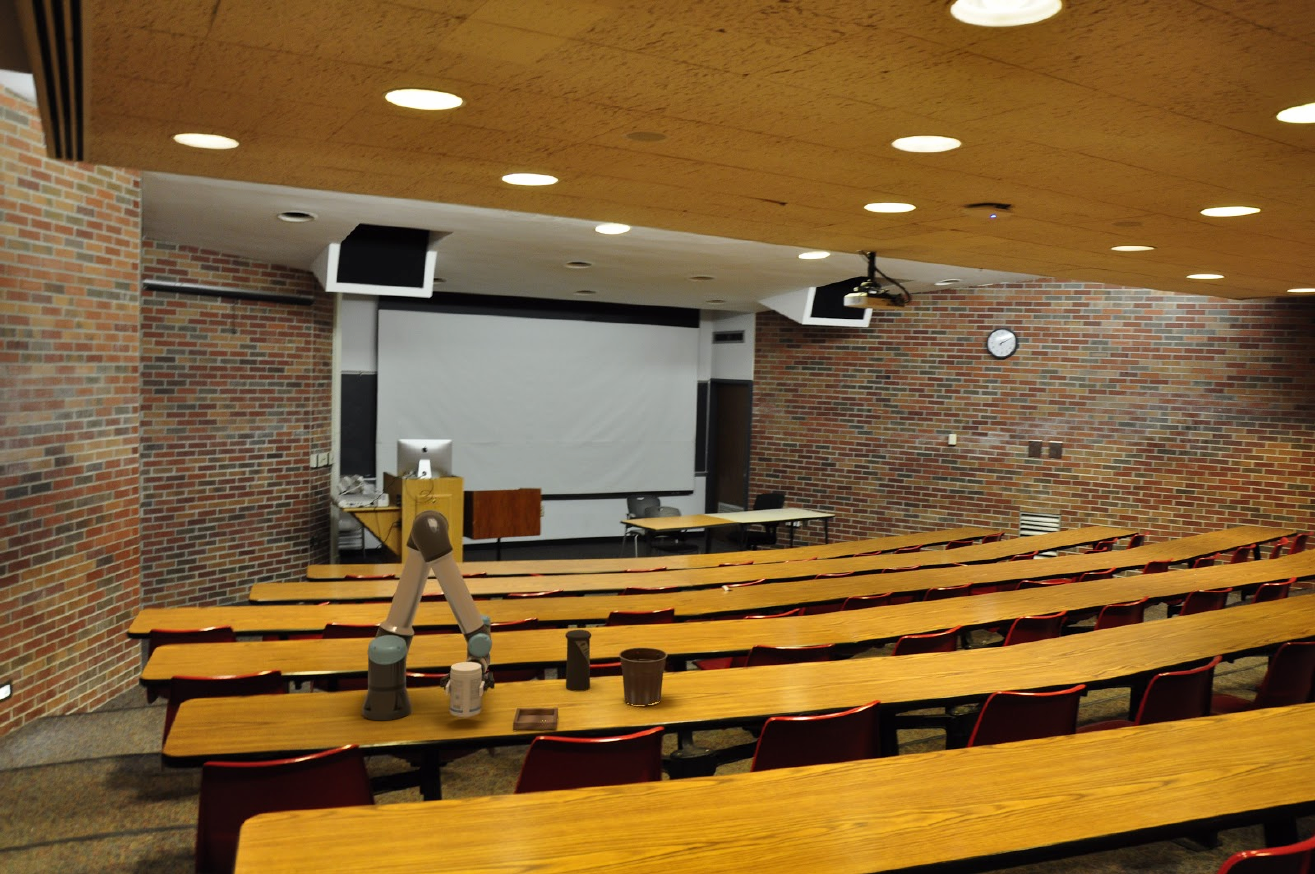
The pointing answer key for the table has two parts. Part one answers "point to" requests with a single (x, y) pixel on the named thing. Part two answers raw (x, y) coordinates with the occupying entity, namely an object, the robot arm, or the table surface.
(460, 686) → the supplement tub
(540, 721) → the holder tray
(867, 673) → the table surface
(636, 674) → the plant pot
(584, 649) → the container
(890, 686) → the table surface
